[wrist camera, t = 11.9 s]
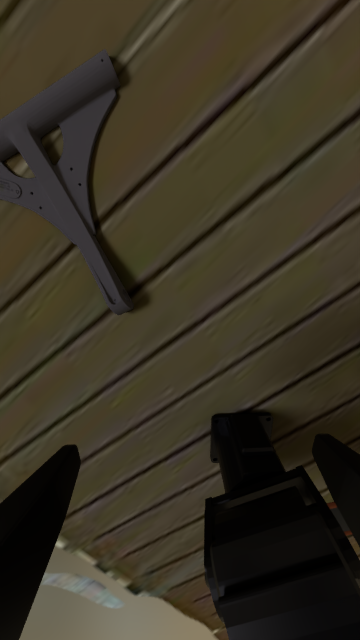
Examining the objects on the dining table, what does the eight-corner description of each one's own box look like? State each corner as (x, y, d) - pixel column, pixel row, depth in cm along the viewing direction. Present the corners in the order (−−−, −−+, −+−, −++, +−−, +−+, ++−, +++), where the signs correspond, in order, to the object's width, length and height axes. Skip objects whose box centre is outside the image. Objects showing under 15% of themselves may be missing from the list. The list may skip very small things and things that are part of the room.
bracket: (64, 339, 20) (47, 353, 17) (-58, 174, 15) (-106, 159, 13) (201, 271, 18) (206, 275, 16) (110, 65, 14) (95, 22, 11)
